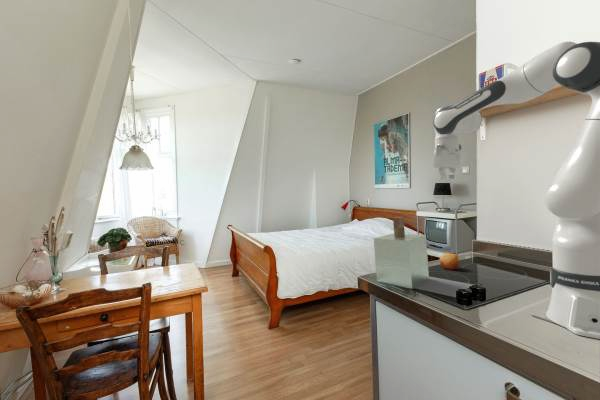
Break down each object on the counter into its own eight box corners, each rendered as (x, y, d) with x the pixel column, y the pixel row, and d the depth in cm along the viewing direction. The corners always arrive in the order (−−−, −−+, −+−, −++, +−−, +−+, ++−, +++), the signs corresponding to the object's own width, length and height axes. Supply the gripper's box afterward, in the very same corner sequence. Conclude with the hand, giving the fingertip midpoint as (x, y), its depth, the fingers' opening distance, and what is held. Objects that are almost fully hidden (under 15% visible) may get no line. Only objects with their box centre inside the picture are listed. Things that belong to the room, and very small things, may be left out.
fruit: (467, 266, 126) (458, 252, 125) (454, 276, 125) (445, 262, 124) (454, 262, 134) (446, 248, 133) (442, 271, 133) (433, 258, 132)
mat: (475, 286, 105) (475, 284, 105) (460, 299, 94) (460, 298, 94) (429, 277, 118) (429, 276, 118) (411, 288, 106) (410, 287, 106)
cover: (429, 278, 115) (424, 215, 115) (412, 288, 104) (407, 219, 104) (395, 273, 126) (390, 215, 126) (376, 282, 116) (372, 219, 115)
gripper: (445, 142, 108) (446, 178, 109) (462, 146, 122) (464, 178, 123) (428, 145, 113) (429, 179, 113) (447, 148, 127) (448, 179, 127)
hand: (447, 178), depth 118 cm, fingers open, 8 cm apart
